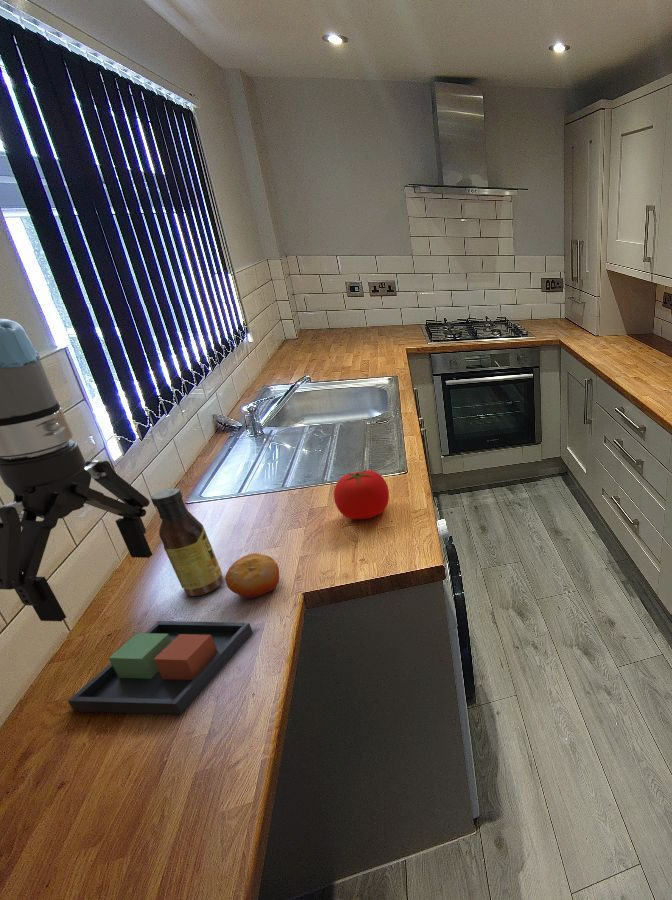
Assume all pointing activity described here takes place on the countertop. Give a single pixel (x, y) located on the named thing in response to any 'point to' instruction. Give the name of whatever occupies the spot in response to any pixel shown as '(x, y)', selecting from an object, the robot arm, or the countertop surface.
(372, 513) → the tomato
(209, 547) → the sauce bottle
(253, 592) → the fruit
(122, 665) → the green block
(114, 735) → the countertop surface
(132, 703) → the tray
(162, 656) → the reddish brown block
